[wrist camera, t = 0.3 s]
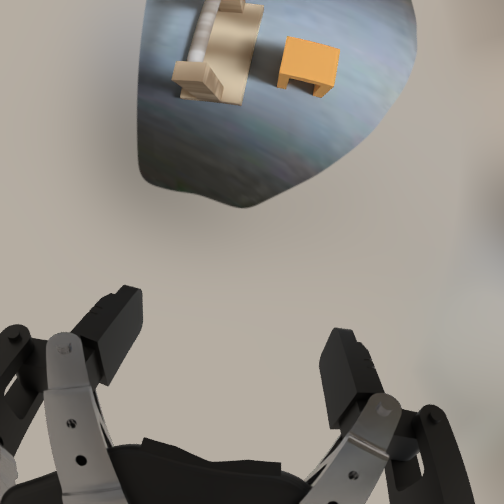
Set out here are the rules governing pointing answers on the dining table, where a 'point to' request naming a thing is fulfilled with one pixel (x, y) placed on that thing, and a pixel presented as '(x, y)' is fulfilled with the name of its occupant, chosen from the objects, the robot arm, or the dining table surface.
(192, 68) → the rack
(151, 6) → the dining table surface
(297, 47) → the notched orange block
